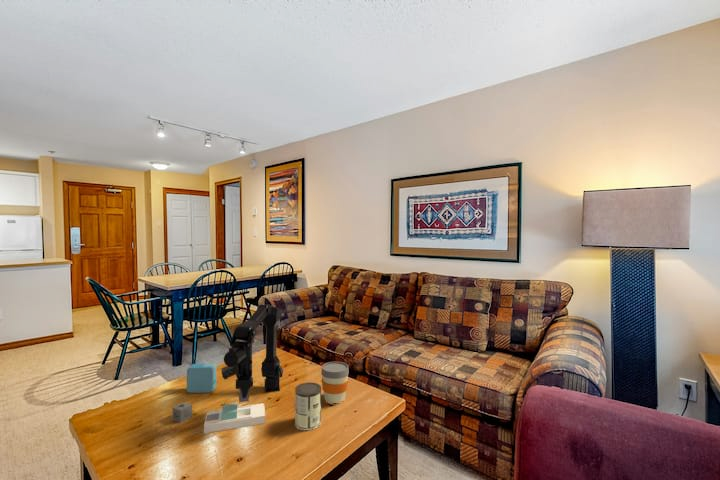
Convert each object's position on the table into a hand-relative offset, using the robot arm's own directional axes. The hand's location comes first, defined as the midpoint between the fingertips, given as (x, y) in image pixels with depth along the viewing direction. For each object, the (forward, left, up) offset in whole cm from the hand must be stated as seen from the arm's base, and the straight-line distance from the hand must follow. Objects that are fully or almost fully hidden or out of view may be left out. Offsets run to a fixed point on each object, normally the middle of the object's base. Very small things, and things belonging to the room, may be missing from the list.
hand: (244, 395), depth 132 cm
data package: (+19, -32, -10) cm, 38 cm away
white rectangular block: (0, 0, -2) cm, 2 cm away
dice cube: (+23, -9, -10) cm, 27 cm away
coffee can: (-24, +10, -10) cm, 28 cm away
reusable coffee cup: (-39, -5, -10) cm, 41 cm away
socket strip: (+3, 0, -10) cm, 10 cm away
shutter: (+5, 0, -7) cm, 9 cm away
